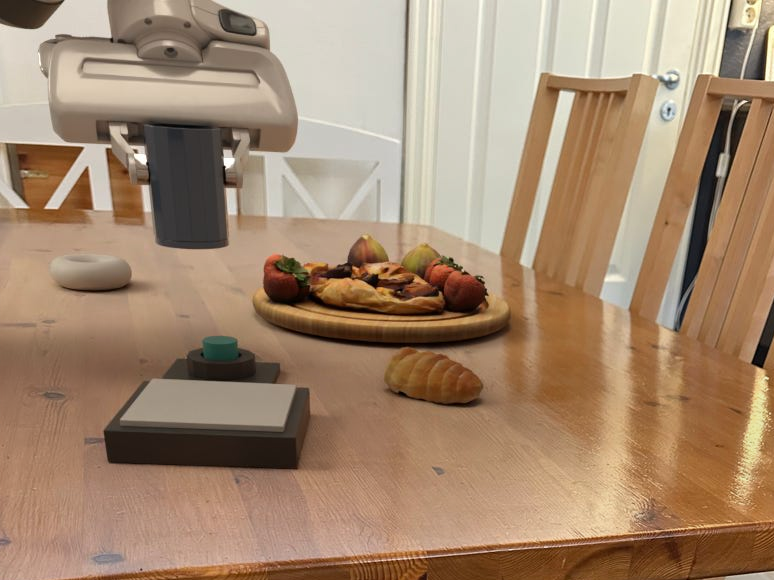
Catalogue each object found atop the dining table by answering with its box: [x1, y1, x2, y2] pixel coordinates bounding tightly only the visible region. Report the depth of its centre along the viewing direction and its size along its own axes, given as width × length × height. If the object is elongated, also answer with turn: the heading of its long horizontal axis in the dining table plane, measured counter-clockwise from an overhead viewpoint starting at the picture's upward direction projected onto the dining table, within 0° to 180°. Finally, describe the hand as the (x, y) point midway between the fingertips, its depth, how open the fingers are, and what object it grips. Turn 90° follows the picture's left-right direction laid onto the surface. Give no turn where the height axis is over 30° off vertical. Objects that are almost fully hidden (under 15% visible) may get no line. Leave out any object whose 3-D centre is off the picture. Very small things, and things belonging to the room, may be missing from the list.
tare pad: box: [161, 347, 281, 384], centre depth 88 cm, size 10×8×2 cm
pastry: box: [383, 346, 484, 405], centre depth 89 cm, size 9×7×4 cm
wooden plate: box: [252, 234, 512, 344], centre depth 115 cm, size 32×32×8 cm
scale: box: [102, 378, 311, 469], centre depth 75 cm, size 14×13×3 cm
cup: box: [142, 123, 230, 250], centre depth 79 cm, size 6×6×9 cm
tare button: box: [201, 335, 239, 360], centre depth 88 cm, size 3×3×2 cm
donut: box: [49, 253, 133, 291], centre depth 121 cm, size 10×4×10 cm
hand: (188, 182), depth 78 cm, fingers closed on cup, 6 cm apart
